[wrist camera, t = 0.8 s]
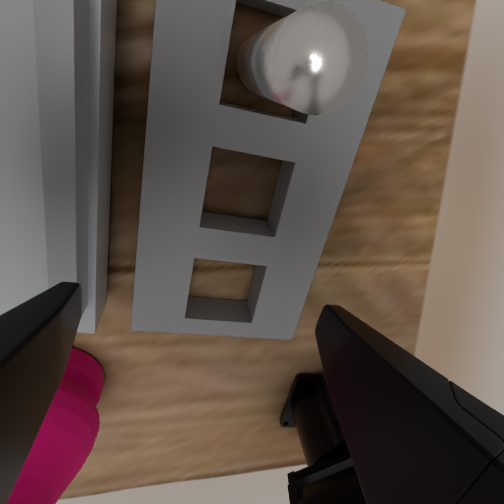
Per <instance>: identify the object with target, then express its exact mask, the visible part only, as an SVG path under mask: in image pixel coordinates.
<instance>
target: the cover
mask: <svg viewBox="0 0 504 504" xmlns="http://www.w3.org/2000/svg"><path fill="white" fill-rule="evenodd" d="M116 16H117V0H0V315H1V314H3V313H5V312H7V311H9V310H11V309H12V308H14V307H16V306H18V305H20V304H22V303H23V302H25V301H27V300H29V299H31V298H33V297H34V296H36V295H38V294H40V293H42V292H43V291H45V290H47V289H49V288H51V287H53V286H54V285H56V284H58V283H60V282H76V283H80V285H81V288H82V314H81V319H80V323H79V326H78V329H77V333H93V334H95V332H96V329H97V326H98V324H99V321H100V318H101V315H102V313H103V310H104V307H105V304H106V299H107V271H108V242H109V214H110V186H111V158H112V129H113V101H114V73H115V44H116Z"/></svg>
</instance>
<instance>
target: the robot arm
mask: <svg viewBox="0 0 504 504" xmlns="http://www.w3.org/2000/svg"><path fill="white" fill-rule="evenodd" d="M81 314H82V288H81V285H80V283H76V282H60V283H58V284H56V285H54V286H53V287H51V288H49V289H47V290H45V291H43V292H42V293H40V294H38V295H36V296H34V297H33V298H31V299H29V300H27V301H25V302H23V303H22V304H20V305H18V306H16V307H14V308H12V309H11V310H9V311H7V312H5V313H3V314H1V315H0V504H7V502H8V500H9V497H10V495H11V493H12V491H13V488H14V486H15V484H16V482H17V479H18V477H19V475H20V473H21V470H22V468H23V466H24V464H25V461H26V459H27V457H28V455H29V452H30V450H31V448H32V446H33V443H34V441H35V439H36V437H37V434H38V432H39V430H40V428H41V425H42V423H43V421H44V419H45V416H46V414H47V412H48V410H49V407H50V405H51V403H52V401H53V398H54V396H55V394H56V392H57V389H58V387H59V385H60V382H61V380H62V378H63V375H64V372H65V369H66V366H67V363H68V359H69V356H70V353H71V349H72V346H73V343H74V339H75V336H76V333H77V329H78V326H79V323H80V319H81ZM315 335H316V340H317V345H318V349H319V354H320V358H321V363H322V367H323V372H324V375H313V374H300V375H298V376H297V377H296V378H295V381H294V383H293V386H292V389H291V391H290V394H289V397H288V399H287V402H286V405H285V407H284V410H283V413H282V415H281V418H280V424H281V426H282V427H296V428H297V431H298V435H299V438H300V441H301V445H302V448H303V452H304V455H305V458H306V462H307V465H308V467H306V468H303V469H301V470H299V471H296V472H294V471H293V472H290V473H288V482H289V485H288V492H289V499H290V504H504V415H502V414H501V413H499V412H497V411H496V410H494V409H492V408H491V407H489V406H488V405H486V404H485V403H483V402H482V401H480V400H479V399H477V398H476V397H474V396H473V395H471V394H469V393H468V392H467V391H465V390H464V389H462V388H460V387H459V386H458V385H456V384H455V383H453V382H452V381H449V380H448V379H447V378H446V377H444V376H443V375H441V374H440V373H438V372H437V371H435V370H434V369H432V368H431V367H429V366H428V365H426V364H425V363H424V362H422V361H421V360H419V359H417V358H416V357H415V356H413V355H412V354H410V353H409V352H407V351H406V350H404V349H403V348H401V347H400V346H398V345H397V344H395V343H394V342H392V341H391V340H390V339H388V338H387V337H385V336H384V335H382V334H381V333H379V332H378V331H376V330H375V329H373V328H372V327H370V326H369V325H367V324H366V323H364V322H363V321H361V320H360V319H358V318H357V317H356V316H354V315H353V314H351V313H350V312H348V311H347V310H345V309H344V308H342V307H341V306H338V305H328V304H327V305H325V306H324V307H323V309H322V312H321V314H320V317H319V320H318V322H317V325H316V329H315Z"/></svg>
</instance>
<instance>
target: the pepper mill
mask: <svg viewBox="0 0 504 504" xmlns="http://www.w3.org/2000/svg"><path fill="white" fill-rule="evenodd" d="M103 384H104V372H103V370H102V367H101V366H100V364H99V363H98V362H97V361H96V360H95V359H94V358H93V357H92V356H91V355H89V354H87V353H85V352H83V351H81V350H78V349H75V348H72V349H71V353H70V356H69V359H68V363H67V366H66V369H65V372H64V375H63V378H62V380H61V382H60V385H59V387H58V389H57V392H56V394H55V396H54V398H53V401H52V403H51V405H50V407H49V410H48V412H47V414H46V416H45V419H44V421H43V423H42V425H41V428H40V430H39V432H38V434H37V437H36V439H35V441H34V443H33V446H32V448H31V450H30V452H29V455H28V457H27V459H26V461H25V464H24V466H23V468H22V470H21V473H20V475H19V477H18V479H17V482H16V484H15V486H14V488H13V491H12V493H11V495H10V497H9V500H8V502H7V504H55V503H56V502H57V500H58V499H59V498H60V496H61V495H62V493H63V492H64V491H65V489H66V488H67V487H68V485H69V484H70V483H71V481H72V480H73V479H74V477H75V476H76V475H77V473H78V472H79V471H80V469H81V468H82V466H83V464H84V463H85V461H86V459H87V457H88V456H89V454H90V452H91V450H92V448H93V445H94V442H95V439H96V436H97V434H98V431H99V424H100V422H99V413H98V410H97V408H96V405H97V403H98V401H99V399H100V395H101V391H102V388H103Z"/></svg>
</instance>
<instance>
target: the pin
mask: <svg viewBox="0 0 504 504" xmlns="http://www.w3.org/2000/svg"><path fill="white" fill-rule="evenodd" d="M368 55H369V51H368V41H367V37H366V33H365V30H364V28H363V26H362V24H361V22H360V21H359V19H358V18H357V17H356V15H355V14H354V13H353V12H352V11H350V10H349V9H348V8H346V7H345V6H343V5H340V4H338V3H334V2H327V1H323V2H316V3H313V4H310V5H308V6H305V7H303V8H301V9H300V10H298V11H296V12H294V13H292V14H290V15H288V16H286V17H284V18H283V19H281V20H279V21H277V22H275V23H273V24H271V25H269V26H267V27H266V28H264V29H262V30H260V31H258V32H256V33H254V34H252V35H251V36H249V37H248V38H247V39H246V40H245V41H244V43H243V44H242V46H241V48H240V50H239V53H238V56H237V71H238V75H239V78H240V80H241V82H242V83H243V85H244V86H245V87H246V88H247V89H248V90H249V91H251V92H252V93H255V94H257V95H259V96H262V97H264V98H267V99H269V100H272V101H274V102H277V103H279V104H282V105H284V106H287V107H289V108H292V109H294V110H297V111H299V112H302V113H305V114H309V115H323V114H328V113H331V112H333V111H335V110H337V109H339V108H341V107H342V106H343V105H345V104H346V103H347V102H348V101H349V100H350V99H351V98H352V97H353V96H354V94H355V93H356V92H357V90H358V89H359V87H360V85H361V83H362V81H363V79H364V76H365V73H366V69H367V64H368Z"/></svg>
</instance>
